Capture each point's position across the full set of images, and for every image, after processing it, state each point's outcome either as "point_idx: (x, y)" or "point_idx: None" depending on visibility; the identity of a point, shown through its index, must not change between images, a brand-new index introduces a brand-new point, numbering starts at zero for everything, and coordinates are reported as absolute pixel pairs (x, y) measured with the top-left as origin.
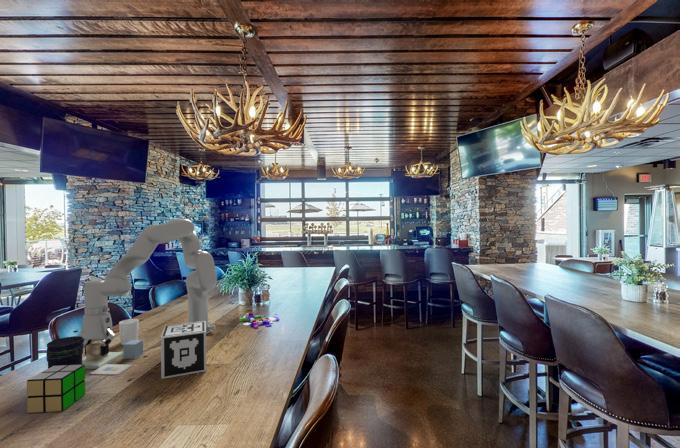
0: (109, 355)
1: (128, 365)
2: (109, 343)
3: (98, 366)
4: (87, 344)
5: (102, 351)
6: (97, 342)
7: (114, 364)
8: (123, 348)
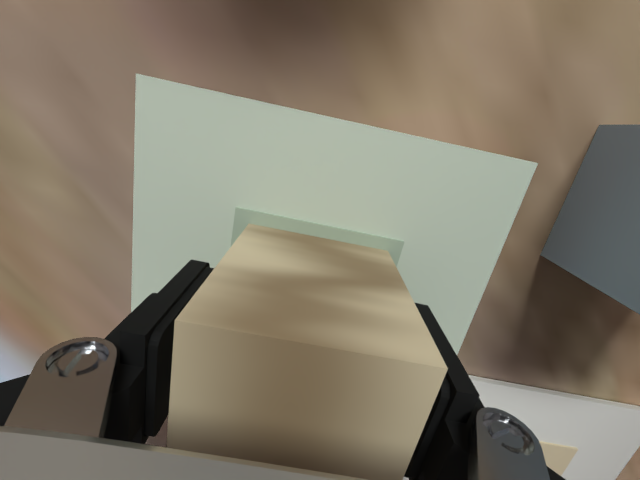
0: (403, 243)
1: (630, 421)
2: (515, 437)
3: None
4: (130, 440)
5: None
6: (266, 399)
7: (509, 388)
8: (635, 310)
